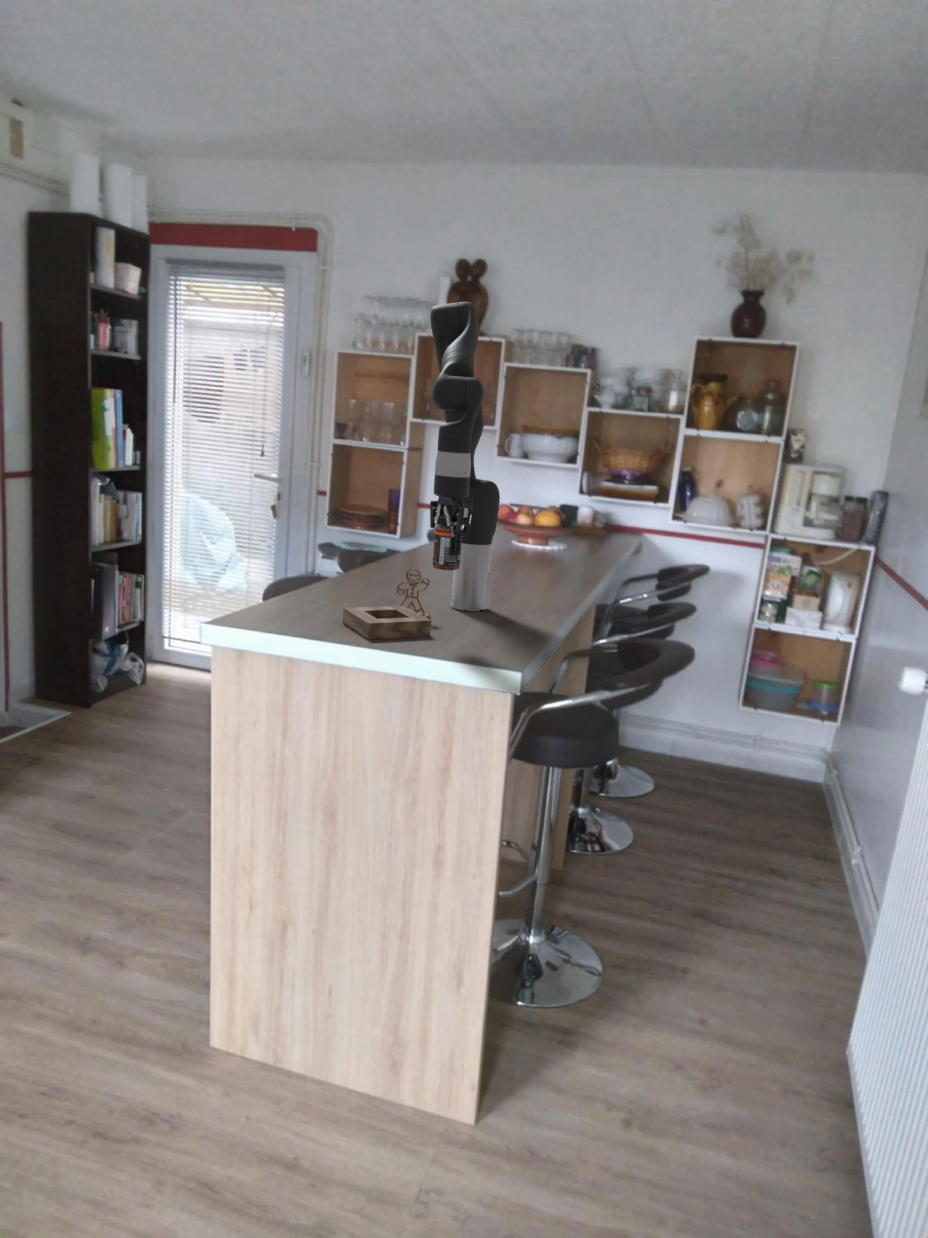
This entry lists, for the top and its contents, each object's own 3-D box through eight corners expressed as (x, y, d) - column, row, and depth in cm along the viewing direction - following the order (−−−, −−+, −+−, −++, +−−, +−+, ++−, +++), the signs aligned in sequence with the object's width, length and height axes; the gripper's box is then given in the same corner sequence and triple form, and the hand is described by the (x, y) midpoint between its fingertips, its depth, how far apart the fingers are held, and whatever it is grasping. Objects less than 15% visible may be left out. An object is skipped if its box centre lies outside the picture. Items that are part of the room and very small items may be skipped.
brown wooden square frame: (401, 620, 205) (402, 605, 204) (430, 635, 192) (431, 620, 191) (342, 622, 197) (343, 607, 197) (367, 639, 185) (368, 623, 184)
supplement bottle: (431, 565, 190) (434, 513, 187) (457, 566, 190) (461, 515, 188) (433, 569, 184) (436, 517, 181) (460, 571, 185) (464, 518, 182)
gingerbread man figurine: (390, 616, 208) (393, 567, 205) (396, 613, 212) (399, 565, 209) (425, 621, 206) (428, 571, 203) (430, 618, 209) (434, 569, 207)
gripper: (485, 477, 178) (478, 557, 182) (451, 471, 190) (445, 546, 194) (453, 476, 175) (448, 558, 178) (421, 470, 187) (416, 546, 190)
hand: (446, 551), depth 186 cm, fingers closed on supplement bottle, 6 cm apart
